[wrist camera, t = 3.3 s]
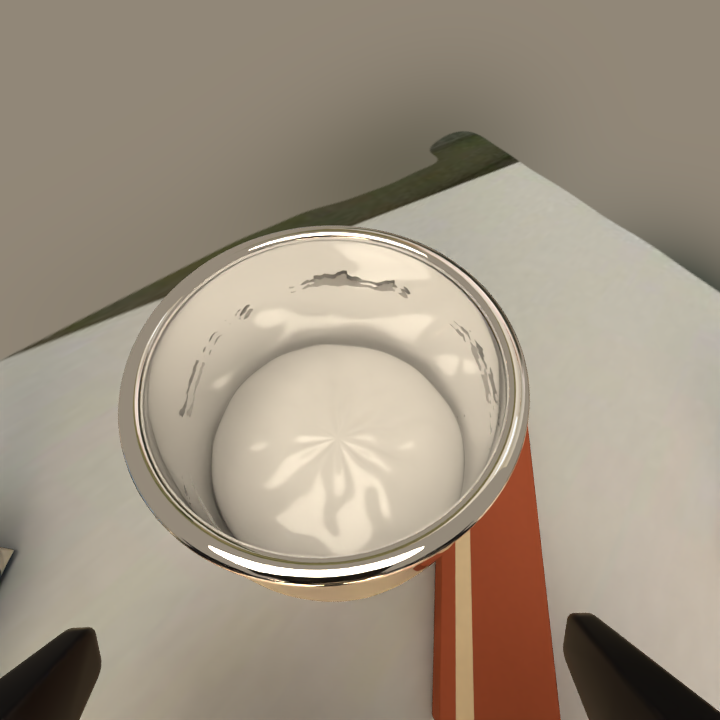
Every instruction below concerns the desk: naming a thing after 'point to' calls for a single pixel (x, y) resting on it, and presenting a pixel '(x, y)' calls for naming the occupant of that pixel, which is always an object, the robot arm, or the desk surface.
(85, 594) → the desk surface
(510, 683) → the striped reddish-brown bar
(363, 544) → the beer glass
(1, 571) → the label tape box
